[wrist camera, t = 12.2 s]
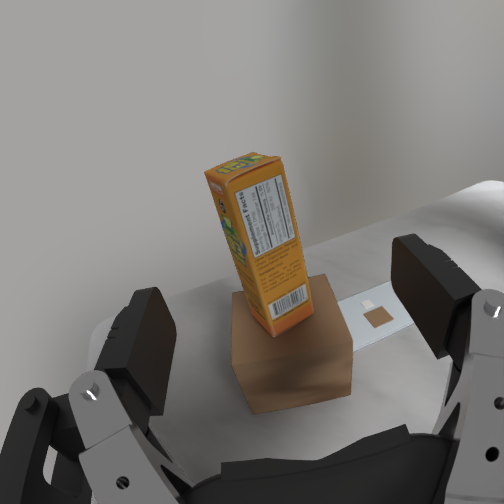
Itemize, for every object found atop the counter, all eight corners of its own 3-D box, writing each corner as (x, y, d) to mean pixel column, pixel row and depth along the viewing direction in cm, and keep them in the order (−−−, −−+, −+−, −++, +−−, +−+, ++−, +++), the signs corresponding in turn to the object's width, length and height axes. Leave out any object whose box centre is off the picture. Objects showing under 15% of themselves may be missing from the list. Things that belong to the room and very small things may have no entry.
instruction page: (390, 282, 28) (391, 279, 28) (426, 316, 23) (427, 313, 23) (320, 309, 27) (320, 307, 27) (350, 353, 22) (350, 350, 22)
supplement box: (245, 314, 20) (199, 168, 15) (288, 292, 21) (257, 149, 16) (270, 343, 17) (222, 176, 12) (317, 315, 18) (290, 153, 13)
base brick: (329, 330, 25) (324, 273, 22) (350, 395, 19) (353, 340, 16) (249, 346, 25) (232, 292, 22) (253, 414, 19) (231, 365, 16)
